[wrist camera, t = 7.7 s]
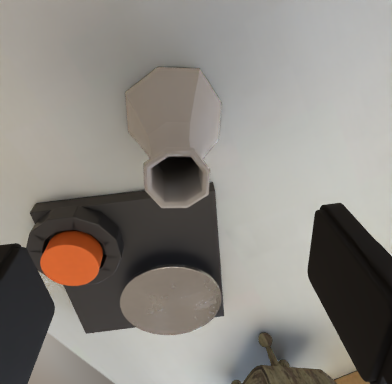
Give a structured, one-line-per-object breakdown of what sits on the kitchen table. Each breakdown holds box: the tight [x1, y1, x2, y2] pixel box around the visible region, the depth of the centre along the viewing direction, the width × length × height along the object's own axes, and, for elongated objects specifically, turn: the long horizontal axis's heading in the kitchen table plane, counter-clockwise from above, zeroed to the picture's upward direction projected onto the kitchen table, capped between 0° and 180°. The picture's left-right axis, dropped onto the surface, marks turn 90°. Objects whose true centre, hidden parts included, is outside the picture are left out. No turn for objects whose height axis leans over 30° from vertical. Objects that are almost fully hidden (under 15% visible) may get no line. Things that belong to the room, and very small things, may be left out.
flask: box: [125, 67, 222, 208], centre depth 18 cm, size 7×7×10 cm
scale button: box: [40, 231, 103, 286], centre depth 24 cm, size 4×4×2 cm
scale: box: [26, 182, 224, 333], centre depth 29 cm, size 16×16×3 cm
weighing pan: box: [120, 264, 221, 335], centre depth 28 cm, size 9×9×1 cm
